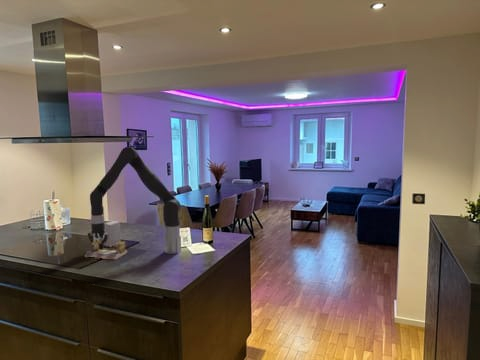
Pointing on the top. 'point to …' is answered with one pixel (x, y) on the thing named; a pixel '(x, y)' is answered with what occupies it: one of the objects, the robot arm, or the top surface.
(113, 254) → the gauge board
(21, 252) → the top surface
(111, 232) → the skincare box
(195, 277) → the top surface
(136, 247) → the top surface
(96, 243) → the slider leg
